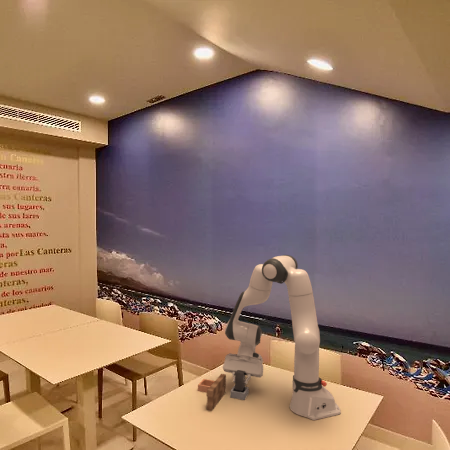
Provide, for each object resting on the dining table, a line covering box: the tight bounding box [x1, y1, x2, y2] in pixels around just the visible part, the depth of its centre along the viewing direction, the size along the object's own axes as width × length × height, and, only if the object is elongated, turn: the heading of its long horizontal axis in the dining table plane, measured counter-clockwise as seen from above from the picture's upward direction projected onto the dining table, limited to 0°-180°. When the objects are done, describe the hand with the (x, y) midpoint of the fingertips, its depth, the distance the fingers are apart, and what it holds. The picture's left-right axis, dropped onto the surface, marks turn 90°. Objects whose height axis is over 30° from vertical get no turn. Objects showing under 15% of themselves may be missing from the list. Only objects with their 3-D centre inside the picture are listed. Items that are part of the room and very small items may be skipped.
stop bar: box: [234, 370, 246, 393], centre depth 171 cm, size 4×4×11 cm
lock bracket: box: [197, 378, 216, 394], centre depth 177 cm, size 7×7×3 cm
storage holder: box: [229, 384, 250, 401], centre depth 171 cm, size 7×7×3 cm
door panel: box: [206, 373, 227, 412], centre depth 165 cm, size 18×4×9 cm, turn 160°
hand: (239, 383), depth 170 cm, fingers closed on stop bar, 4 cm apart
